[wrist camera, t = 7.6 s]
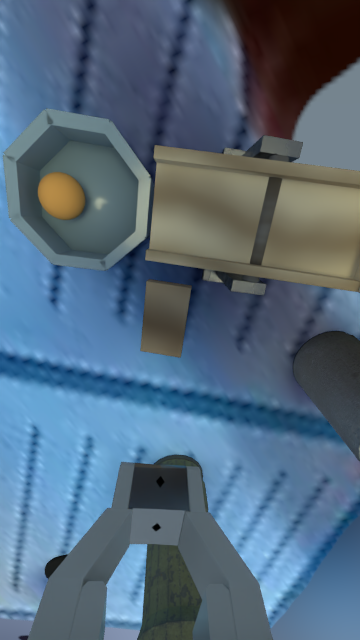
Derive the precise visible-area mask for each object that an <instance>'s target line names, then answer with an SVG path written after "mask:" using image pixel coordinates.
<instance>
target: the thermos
mask: <svg viewBox="0 0 360 640" xmlns="http://www.w3.org/2000/svg"><path fill="white" fill-rule="evenodd" d="M154 465H180V466H193V467H199V468H200V471H201V479H202V487H203V495H204V503H205V510H206V512H208V503H207V496H206V489H205V483H204V481H203V474H202V468H201V466H200V465H199V463H198V462H197V461H195V460H194V459H193V458H190V457H187V456H184V455H171V456H167V457H164V458H162V459H160V460H158V461H157V462H156V463H155V464H154ZM201 603H202V598H201V596H200V594H199V592H198V590H197V587H196V585H195V583H194V581H193V579H192V577H191V574H190V572H189V570H188V568H187V566H186V564H185V561H184V559H183V557H182V555H181V553H180V550H179V548H178V546H176V545H161V544H147V559H146V574H145V589H144V604H143V618H142V627H141V630H140V633H139V636H138V638H137V640H193V632H192V631H193V628H194V625H195V622H196V619H197V616H198V612H199V609H200V606H201Z"/></svg>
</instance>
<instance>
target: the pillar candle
mask: <svg viewBox="0 0 360 640" xmlns="http://www.w3.org/2000/svg"><path fill="white" fill-rule="evenodd" d="M293 373H294V377H295V379H296V380H297V382H298V383H299V385H300V386H301V387H302V388H303V389H304V391H305V392H306V394H307V395H308V396H309V397H310V399H311V400H312V401H313V403H314V404H315V405H316V406H317V408H318V409H319V410H320V412H321V413H322V414H323V415H324V417H325V418H326V419H327V420H328V422H329V423H330V424H331V425H332V427H333V428H334V429H335V431H336V432H337V433H338V434H339V436H340V437H341V438H342V440H343V441H344V442H345V443H346V445H347V446H348V447H349V449H350V450H351V451H352V452H353V454H354V455H355V456H356V458H357V459H358V460H359V461H360V341H359V340H358V339H357V338H355V337H354V336H353V335H349V334H346V333H345V332H340V331H331V332H326V333H323V334H319V335H317V336H315V337H313V338H312V339H310V340H309V341H308V342H306V343H305V344H304V345H303V346H302V347H301V348H300V350H299V351H298V353H297V355H296V357H295V359H294V363H293Z"/></svg>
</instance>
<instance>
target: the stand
mask: <svg viewBox="0 0 360 640" xmlns="http://www.w3.org/2000/svg"><path fill="white" fill-rule="evenodd" d="M302 145H303V142H299V141H293V140H288V139H282V138H277V137H271V136H265V135H263V136H262V137H261V138H260V139H259V140H258V141H257V142H256V143H255V144H254V145H253V146H252V147H250V148H249V149H248V150H247V151H242V150H236V149H230V148H224V150H223V153H222V154H229V155H237V156H245V157H252V158H260V159H268V160H269V157H270V156H272V155H283V156H287V157H289V161H288V162H292V161H294V160H296V159H298V158H299V157H300V153H301V149H302ZM242 278H243V275H242V274H235V273H228V272H222V271H215V270H208V269H203V275H202V279H203V280H205V281H214V282H222V283H224V284H225V285H226V286H227V287H228V289H229V290H230V291H233V292H241V293H250V294H258V295H264V292H265V288H266V284H265V283H264V282H262V281H261V280H259V282H252V281H247V280H244V279H242Z"/></svg>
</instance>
